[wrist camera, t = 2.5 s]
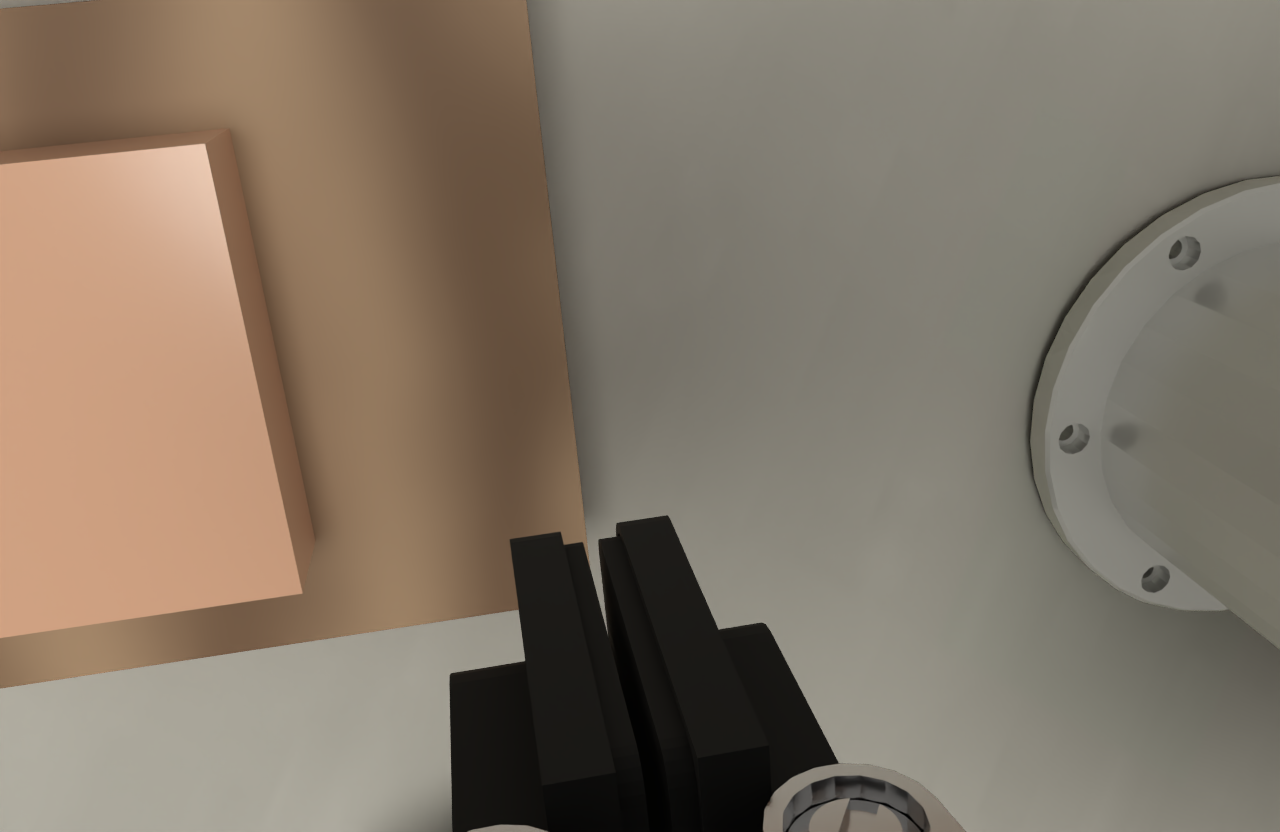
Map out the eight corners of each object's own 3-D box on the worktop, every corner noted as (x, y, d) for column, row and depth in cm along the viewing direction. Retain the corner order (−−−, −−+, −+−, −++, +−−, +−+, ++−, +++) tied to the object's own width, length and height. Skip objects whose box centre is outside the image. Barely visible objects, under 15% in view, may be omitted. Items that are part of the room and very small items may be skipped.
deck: (511, -34, 26) (522, -38, 22) (576, 524, 31) (593, 598, 27) (-254, 33, 24) (-383, 42, 20) (-52, 615, 29) (-126, 707, 25)
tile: (229, 127, 22) (205, 143, 20) (315, 540, 26) (302, 593, 23) (-98, 161, 22) (-161, 180, 19) (33, 580, 25) (-8, 639, 23)
